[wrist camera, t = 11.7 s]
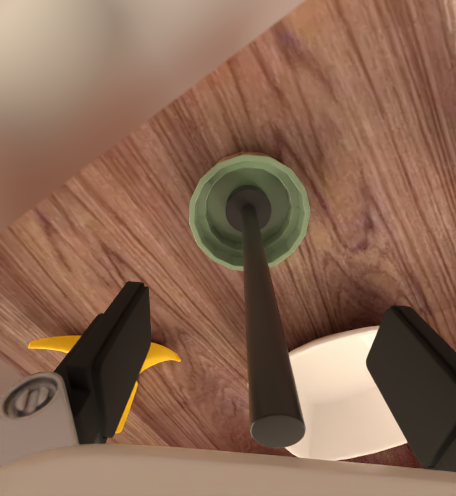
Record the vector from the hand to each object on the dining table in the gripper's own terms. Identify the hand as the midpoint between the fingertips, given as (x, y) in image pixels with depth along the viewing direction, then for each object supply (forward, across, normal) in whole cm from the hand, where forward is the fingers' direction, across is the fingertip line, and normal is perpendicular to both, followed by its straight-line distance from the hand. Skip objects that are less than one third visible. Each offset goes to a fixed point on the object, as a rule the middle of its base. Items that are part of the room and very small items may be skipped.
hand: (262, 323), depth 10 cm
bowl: (+19, -14, +22) cm, 32 cm away
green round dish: (+18, 0, 0) cm, 18 cm away
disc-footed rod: (+18, 0, 0) cm, 18 cm away
